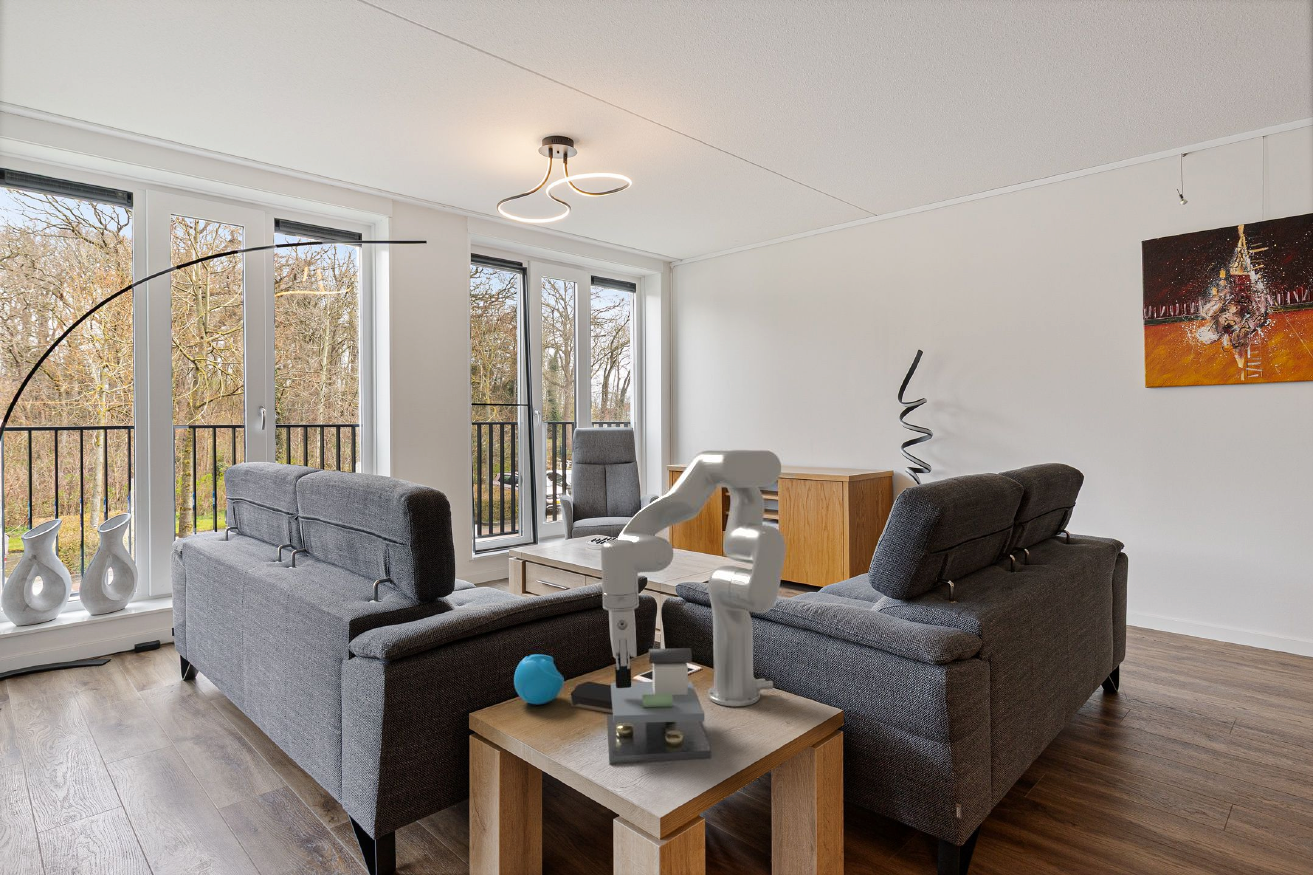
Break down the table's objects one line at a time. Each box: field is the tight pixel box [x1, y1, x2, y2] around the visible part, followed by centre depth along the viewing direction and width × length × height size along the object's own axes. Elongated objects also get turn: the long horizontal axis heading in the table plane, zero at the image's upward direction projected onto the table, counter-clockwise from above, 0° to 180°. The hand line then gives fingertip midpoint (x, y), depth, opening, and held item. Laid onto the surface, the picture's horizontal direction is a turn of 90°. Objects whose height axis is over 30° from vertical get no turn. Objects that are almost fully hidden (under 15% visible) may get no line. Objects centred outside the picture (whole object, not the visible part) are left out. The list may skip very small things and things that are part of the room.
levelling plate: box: [610, 647, 705, 723], centre depth 143 cm, size 18×18×12 cm
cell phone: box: [633, 663, 702, 682], centre depth 182 cm, size 9×18×1 cm, turn 136°
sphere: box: [513, 654, 565, 705], centre depth 164 cm, size 12×11×12 cm
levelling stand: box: [606, 713, 712, 765], centre depth 143 cm, size 20×20×5 cm
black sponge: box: [570, 681, 613, 714], centre depth 162 cm, size 16×8×4 cm, turn 64°
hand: (623, 686), depth 143 cm, fingers closed
